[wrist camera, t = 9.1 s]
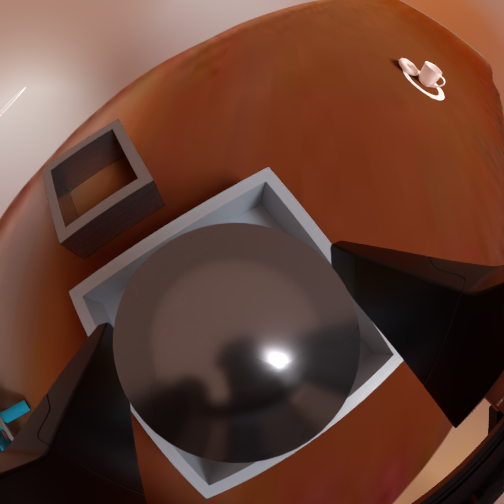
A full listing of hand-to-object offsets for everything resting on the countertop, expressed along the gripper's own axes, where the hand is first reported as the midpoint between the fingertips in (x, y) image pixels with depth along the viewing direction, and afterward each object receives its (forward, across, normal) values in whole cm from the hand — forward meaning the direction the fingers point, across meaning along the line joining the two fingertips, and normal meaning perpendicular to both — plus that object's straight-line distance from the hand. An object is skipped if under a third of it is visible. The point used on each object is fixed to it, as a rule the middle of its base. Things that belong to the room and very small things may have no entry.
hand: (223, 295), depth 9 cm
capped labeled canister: (+5, 0, +7) cm, 9 cm away
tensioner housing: (+15, +6, -2) cm, 16 cm away
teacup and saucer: (+23, -40, -9) cm, 47 cm away
